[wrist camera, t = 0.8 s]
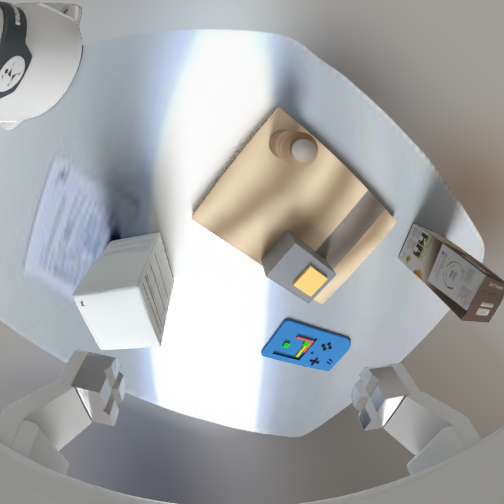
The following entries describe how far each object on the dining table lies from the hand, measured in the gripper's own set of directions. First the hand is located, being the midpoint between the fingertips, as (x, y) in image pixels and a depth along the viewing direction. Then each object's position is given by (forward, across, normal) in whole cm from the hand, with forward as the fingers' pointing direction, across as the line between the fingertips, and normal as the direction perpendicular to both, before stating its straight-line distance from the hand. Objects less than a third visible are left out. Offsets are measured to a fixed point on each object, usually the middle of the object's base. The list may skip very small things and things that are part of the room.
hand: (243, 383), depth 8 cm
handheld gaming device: (+29, -15, +23) cm, 40 cm away
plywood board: (+27, -9, +1) cm, 28 cm away
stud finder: (+26, -8, +6) cm, 28 cm away
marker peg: (+25, -5, -8) cm, 27 cm away
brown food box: (+29, -30, +4) cm, 42 cm away
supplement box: (+27, +11, +8) cm, 30 cm away
